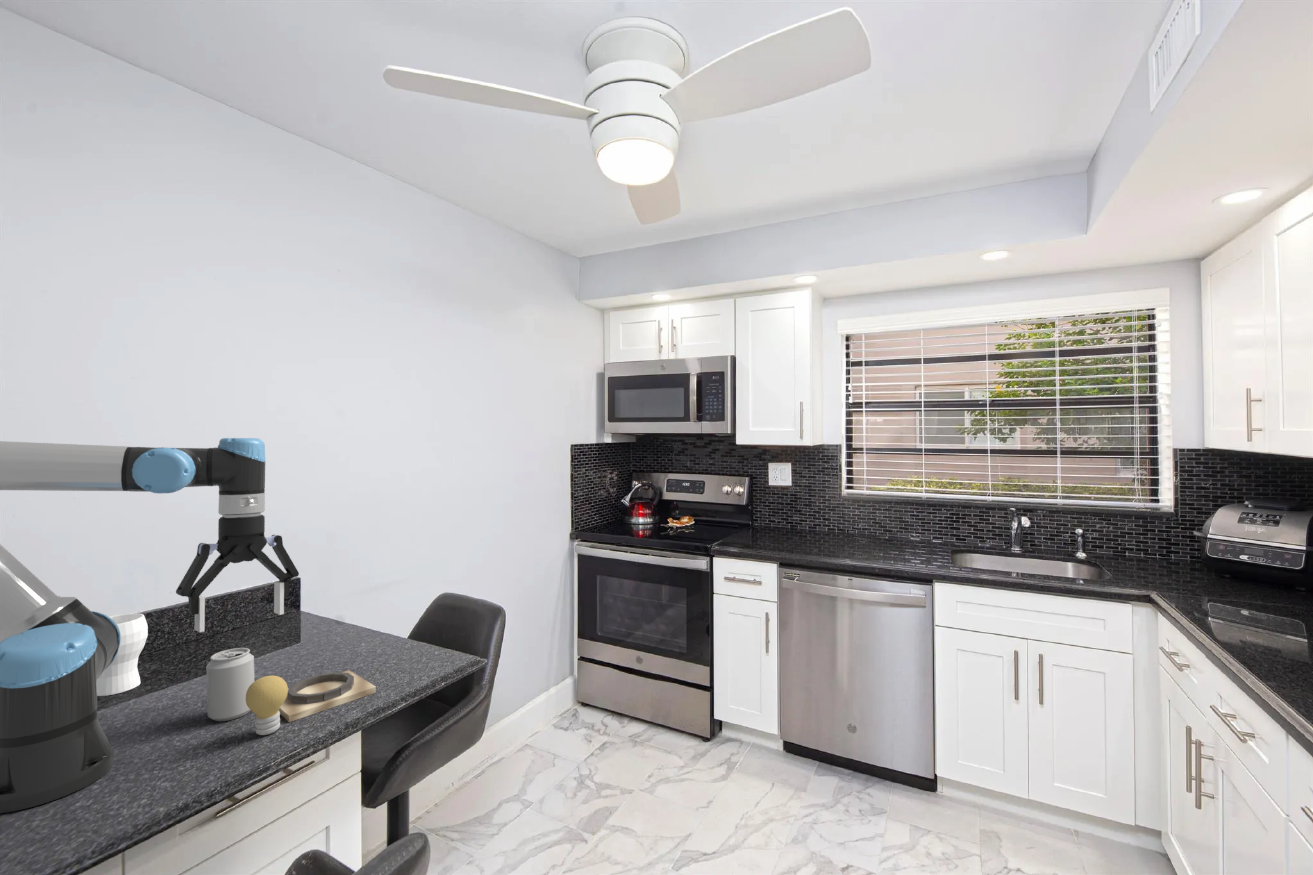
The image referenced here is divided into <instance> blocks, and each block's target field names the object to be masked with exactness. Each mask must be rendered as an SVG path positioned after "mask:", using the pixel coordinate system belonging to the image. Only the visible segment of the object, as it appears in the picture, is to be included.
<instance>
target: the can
mask: <svg viewBox="0 0 1313 875" xmlns="http://www.w3.org/2000/svg"><path fill="white" fill-rule="evenodd" d="M250 652H251V650H250V648H247V647H238V648H236V647H235V648H229V649H226V650H221V651H219V652H216V653H214V654H213V655H211V656H210V658H209V659H210V661H209V662H208V663H207V664H206V668H205V669H206V671H205V672H206V699H207V702H206V703H207V704H206V706H207V708H206V709H207V717H208V718H209V719H211V720H213V721H215V722H226V721H231V720H235V719H238V718H241V717H244V716H245V715H247V714H248V713H250V712H251V710H250V709H249V708H248V706H247V704H246V692H247V690H248V688H249V686H250V685H251V684H252V683H253V682H255V681H256V680H255V656H254V655H253V654H251V653H250Z"/></svg>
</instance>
